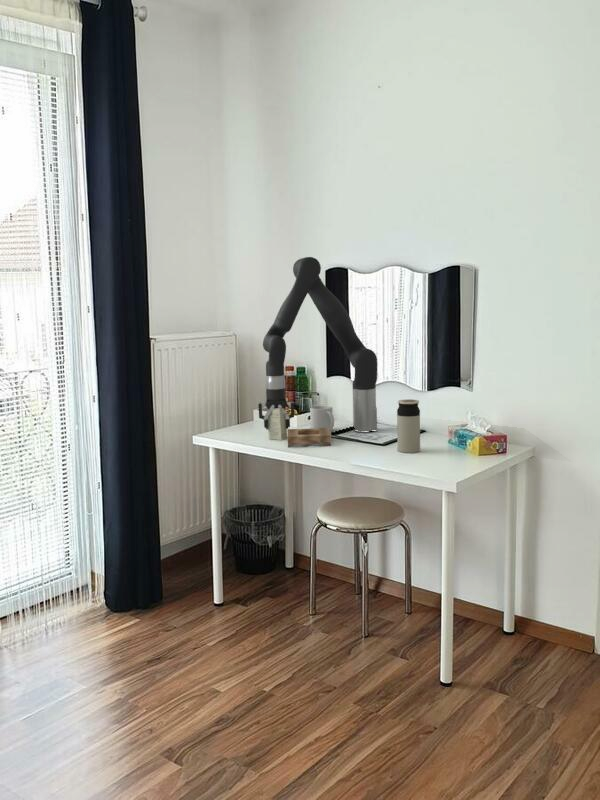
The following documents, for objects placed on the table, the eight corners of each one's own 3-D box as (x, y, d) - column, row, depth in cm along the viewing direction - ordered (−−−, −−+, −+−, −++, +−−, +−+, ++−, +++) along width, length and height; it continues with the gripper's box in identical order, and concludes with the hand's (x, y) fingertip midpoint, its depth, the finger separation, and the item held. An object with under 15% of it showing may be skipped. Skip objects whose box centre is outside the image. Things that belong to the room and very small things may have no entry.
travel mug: (423, 449, 286) (423, 400, 283) (414, 454, 279) (413, 403, 276) (403, 447, 290) (403, 398, 287) (393, 452, 284) (393, 402, 281)
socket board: (329, 438, 310) (328, 427, 309) (331, 446, 296) (330, 435, 296) (287, 439, 310) (287, 429, 309) (287, 447, 296) (287, 436, 296)
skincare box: (287, 438, 312) (286, 407, 310) (281, 440, 308) (280, 409, 306) (273, 436, 315) (272, 406, 313) (267, 439, 312) (266, 408, 310)
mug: (311, 429, 328) (310, 405, 326) (334, 429, 327) (333, 404, 325) (310, 435, 317) (309, 410, 315) (334, 434, 316) (333, 409, 315)
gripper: (294, 385, 312) (295, 426, 315) (257, 386, 312) (259, 427, 315) (294, 387, 305) (295, 430, 308) (256, 389, 305) (258, 431, 307)
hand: (277, 428), depth 311 cm, fingers closed on skincare box, 7 cm apart
